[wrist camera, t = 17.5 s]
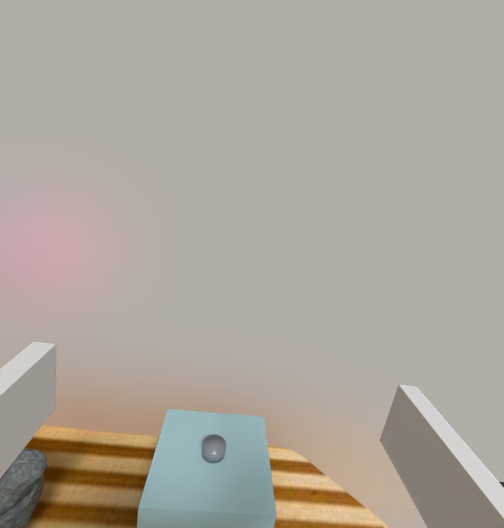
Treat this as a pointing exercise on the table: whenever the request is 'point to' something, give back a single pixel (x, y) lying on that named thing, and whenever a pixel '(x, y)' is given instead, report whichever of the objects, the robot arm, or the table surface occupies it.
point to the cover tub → (209, 473)
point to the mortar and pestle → (21, 488)
